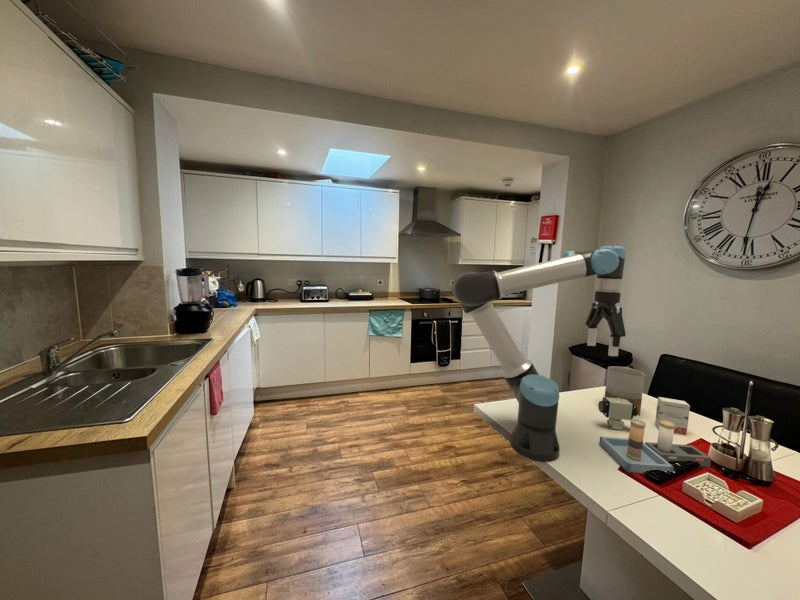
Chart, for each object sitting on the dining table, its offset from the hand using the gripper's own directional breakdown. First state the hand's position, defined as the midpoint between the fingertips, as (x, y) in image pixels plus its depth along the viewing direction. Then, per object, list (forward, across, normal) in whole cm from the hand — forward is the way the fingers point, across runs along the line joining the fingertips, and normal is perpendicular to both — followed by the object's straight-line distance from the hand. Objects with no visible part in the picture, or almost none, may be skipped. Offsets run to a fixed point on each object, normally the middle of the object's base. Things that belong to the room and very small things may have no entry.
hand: (601, 350), depth 112 cm
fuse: (+32, -12, -16) cm, 37 cm away
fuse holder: (+32, -12, -20) cm, 39 cm away
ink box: (+32, +8, -33) cm, 47 cm away
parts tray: (+32, -14, -6) cm, 35 cm away
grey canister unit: (+32, +23, -24) cm, 46 cm away
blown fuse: (+31, -14, -6) cm, 35 cm away
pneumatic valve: (+32, +7, -12) cm, 35 cm away
